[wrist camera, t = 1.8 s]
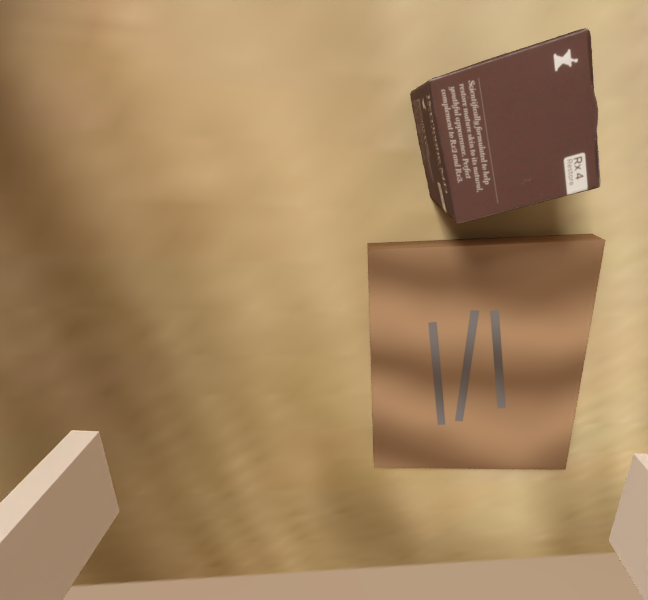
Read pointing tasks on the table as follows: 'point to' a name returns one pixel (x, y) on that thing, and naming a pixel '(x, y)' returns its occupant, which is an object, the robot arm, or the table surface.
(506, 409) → the board
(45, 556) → the robot arm
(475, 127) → the box
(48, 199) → the table surface
